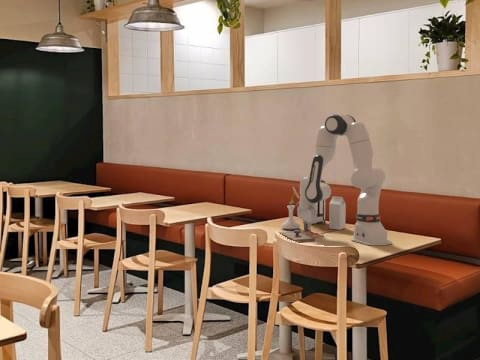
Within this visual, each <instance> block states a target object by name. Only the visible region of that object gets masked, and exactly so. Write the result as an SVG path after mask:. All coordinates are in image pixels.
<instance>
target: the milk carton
mask: <svg viewBox="0 0 480 360" xmlns="http://www.w3.org/2000/svg"><path fill="white" fill-rule="evenodd" d="M328 205H329V206H328V207H329V208H328V209H329V210H328V212H329V214H328V219H329V221H328V223H329V224H328V225H329V226H328V228H329V229H330V230H331V229H332V230H343V229H346V217H347V216H346V212H347V211H346V208H347V207H346V206H347V204H346V202H345V199H344V197H343V196H342V197H341V196H335V195H334V196H331V200H330V202H329V203H328Z"/></svg>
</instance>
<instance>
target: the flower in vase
mask: <svg viewBox="0 0 480 360" xmlns="http://www.w3.org/2000/svg"><path fill="white" fill-rule="evenodd" d="M292 189H293V194H292V196H291V200H290V201H289V202H288V204H290V205H287V206H286V207H287V209H288V218H287V219H286V220H285V221H284V222H283V223H282V224H281V228H283V229H285V230H299V228H301V224H300V223H299V222H298V221H296V219H295V218H294V209H295V207H296V205H293V204H294V203H295V201H294V199H293V198H294V197H293V196H294V195H295V196H296V197H297V199H300V195H299V193H298V192H297V190H296V189H295V187H294V186H292Z"/></svg>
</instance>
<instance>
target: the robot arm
mask: <svg viewBox="0 0 480 360" xmlns="http://www.w3.org/2000/svg"><path fill="white" fill-rule="evenodd" d="M339 136H341V137H342V136H346V137H347V140H348V145H349V148H350V152H351V153H350V154H351V158H352V173H351V175H350V183H352V186H353V187H355V188H356V189H360V193H359V195H358V197H357V206H356V207H357V213H356V216H355V217H356V222H355V224H354V225H353V226H354V229H353V237H352V238H351V242H356V243H359V244H363V245H367V246H386V245H393V242H392V241H391V240H390V239H388V230H387V229H385V227H384V226H383V224H382V223H381V216H380V213H379V211H380V210H379V205H380V203H379V202H380V195H381V191H382V187H383V184H384V182H385V180H386V173H385V171H384V170H383V169H382V168H380V167H378V166H373V157H374V151H373V147H372V143H371V139H370V136H369V132H368V130H367V128H366V126H365V124H364V123H363V122H361V121H357V120H356V119H355V118H354V116H352V115H349V114H343V113H342V114H341V113H338V114H332V115H329V116H328V117H327V118H326V119H325V122H324V125H322V126H320V127H319V128H318V130H317V134H316V139H315V146H314V147H315V148H314V155H313V158H312V162H311V167H310V173H309V176H307V177H302V178H301V179H300V181H299V201H298V202H297V203H296V207H297V218H298V219H299V220H301V221H302V224H303V225H304V224H306V223H307V224H308V226H307V229H308V230H310V229H311V227H312V224H317V223H318V222H317V212H316V210H315V203H317V202H319V201H322V200H325V201H326V200H327V199H329V198H330V197H332V196H331V195H332V188H331V186H330V185H329V184H327V183H326V182H325V183H326V184H325V183H322V182H321V180H322V175H323V171H324V168H325V167H326V166H327V164H329V162H331V161H332V160H334V157H335V154H336V153H335V152H336V147H337V139H338V137H339ZM311 230H312V229H311Z"/></svg>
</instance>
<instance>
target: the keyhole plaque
mask: <svg viewBox="0 0 480 360" xmlns="http://www.w3.org/2000/svg"><path fill="white" fill-rule="evenodd" d="M307 226H308V224H307V223H306V224H303V230H300V231H301V232H302V233H304V234H306V235H309V236H311V237H313V238H315V239H316V238H324V237H325V234H322V233H320V232H317V231H315V230H314V229H313V230H312V229H310V230H308V229H307Z"/></svg>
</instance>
